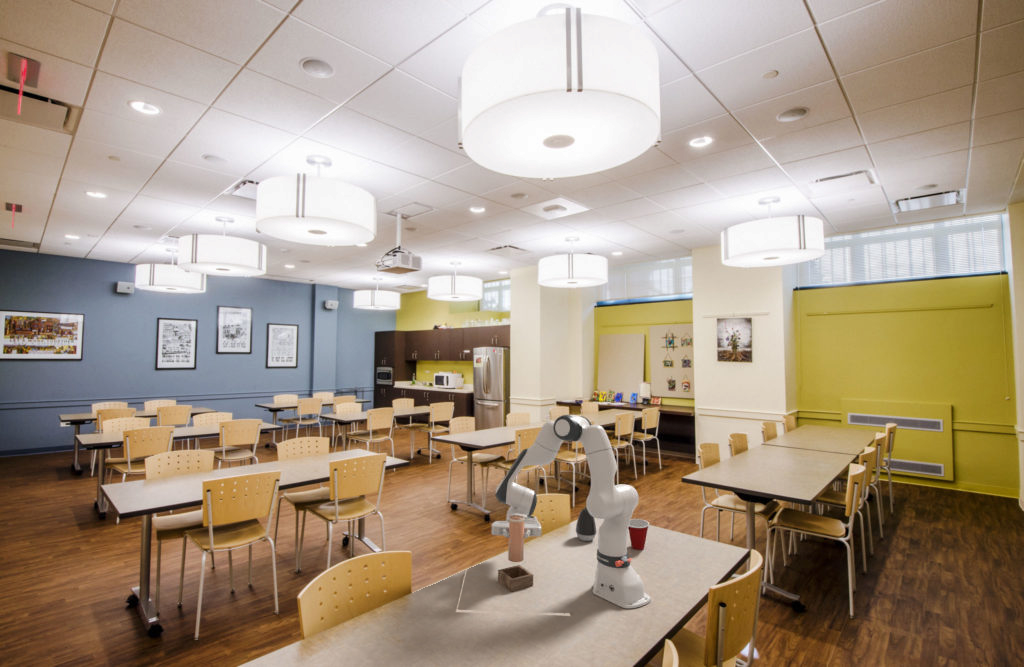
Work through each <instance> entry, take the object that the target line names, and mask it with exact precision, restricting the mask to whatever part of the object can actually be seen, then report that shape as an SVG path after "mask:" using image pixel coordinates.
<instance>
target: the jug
mask: <svg viewBox="0 0 1024 667" xmlns="http://www.w3.org/2000/svg"><path fill="white" fill-rule="evenodd" d="M524 520H525V517H524V516H521V515H512V516H510V517H509V538H508V550H507V552H508V554H507V556H508V557H507V558H508V561H509V562H512V563H521V562H523V561H524V556H525V555H524V554H525V553H524V550H525V547H524V546H525V544H524V543H525V538H524Z"/></svg>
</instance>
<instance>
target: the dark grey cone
mask: <svg viewBox="0 0 1024 667" xmlns="http://www.w3.org/2000/svg"><path fill="white" fill-rule="evenodd" d="M580 510H581V511H580V512H579V515H578V516H577V521H576V526H575V533H576V536H577V538H578V539H579V540H581V541H583V542H590V541H593V540H594V539H595V537H596V535H597V525H596V524H597V523H596V520H595V519H596V518H594V517H592V516H591V515H590V513H589V512H588V510H587V506H584V508H582V509H580Z"/></svg>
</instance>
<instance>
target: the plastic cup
mask: <svg viewBox="0 0 1024 667" xmlns="http://www.w3.org/2000/svg"><path fill="white" fill-rule="evenodd" d="M649 526H650V523H649V521H647V520H645V519H640V518H631V520H630V524H629V528H628V533H629V539H630V545H631V549H634V550H639V551H641V550H644V549H645V545H646V541H647V540H646V539H647V536H648V535H647V534H648V529H649Z"/></svg>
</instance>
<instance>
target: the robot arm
mask: <svg viewBox="0 0 1024 667" xmlns="http://www.w3.org/2000/svg"><path fill="white" fill-rule="evenodd" d="M563 442H573V443H574V442H579V443H581V445H582V446H583V450H584V454H585V458H586V462H587V464H588V469H589V473H590V474H589V475H590V489H589V492H588V496H587V497H586V501H585V503H586V504H585V505H586V506H585V507H587V510H588V512H589V513H590V515H591V516H592V517H594V519H597V520H598V519H599V520H600V519H601V520H603V521H602V523H601V524H600V526H599V528H598V530H597V531H598V533H597V534H598V538H597V543H598V544H597V550H596V560H597V564H596V570H595V577H594V581H593V585H592V587H593V589H592V593H593V595H596V596H597V597H599V598H601V599H604V600H606V601H608V602H610V603H612V604H614V605H616V606H618V607H620V608H623V609H636V608H640V607H644V606H646V605H647V604H649V603H650V602H651V596H650V595H649V594H648V593H646V592H645V586H644V582H643V581H642V578H641V576H640V575H639V574H638V573H637V572H636V571H635V569H634V568H633V566H632V565H631V562H632V560H633V558H632V557H631V558H630V557H629V553H628V549H627V548H628V533H629V529H628V528H629V524H630V520H631V519H632V517H633V514H634V511H635V509H636V508H637V506H638V504H639V503H640V502H639V501H640V497H639V493H638V491H637V490H636V488H635V487H634V486H633V485H630V484H625V483H623V484H615V475H616V473H617V471H618V464H617V460H616V458H615V454H614V450H613V448H612V444H611V442H610V439H609V436H608V434H607V433H606V430H605V428H604V427H603V426H602V425H599V424H592V422H591V421H590V420H589V419H588V418H587V417H585V416H582V415H577V414H563V415H561V416H559V417H557V418H556V419H555V420H548V421H546V422H545V423H544V424H543V426H542V427H541V428H540V430H539V432H538V434H537V436H536V438H535V440H534V442H533V444H532V445H530V447H528V448H524V449H522V451H521V452H520V453H519V454H518V456H517V457H516V459H515V460H514V462H513V463H512V465H511V466H510V468H509V469H508V471H507V472H506V474H505V476H504V477H503V478H502V479H501V481H500V482H499V483H498V484H497V486H496V488H495V493H494V495H495V497H496V500H497V501H498V502H499V503H502V504H505V505H508V506H510V507H508V509H507V511H506V519H505V520H495V521H493V522H492V523H491V535H492V536H504V538H507V539H509V517H510V516H512V515H521V516H524V517H525V520H524V539H528V538H529V537H538V538H539V537H541V536H542V525H541V522H540V521H539V520H538V517H537V516H533V514H534V512H535V510H536V507H537V503H538V496H537V494H536V491H535V490H533V489H531V488H528V487H527V486H524V485H521V484H518V483H516V482H515V480H516V477H517V476H518V474H519V473H520V471H522V469H523V468H524V467H528V466H546V465H549V464H551V463H553V461H555V459H556V457H557V455H558V453H559V451H560V448H561V446H562V444H563Z"/></svg>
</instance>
